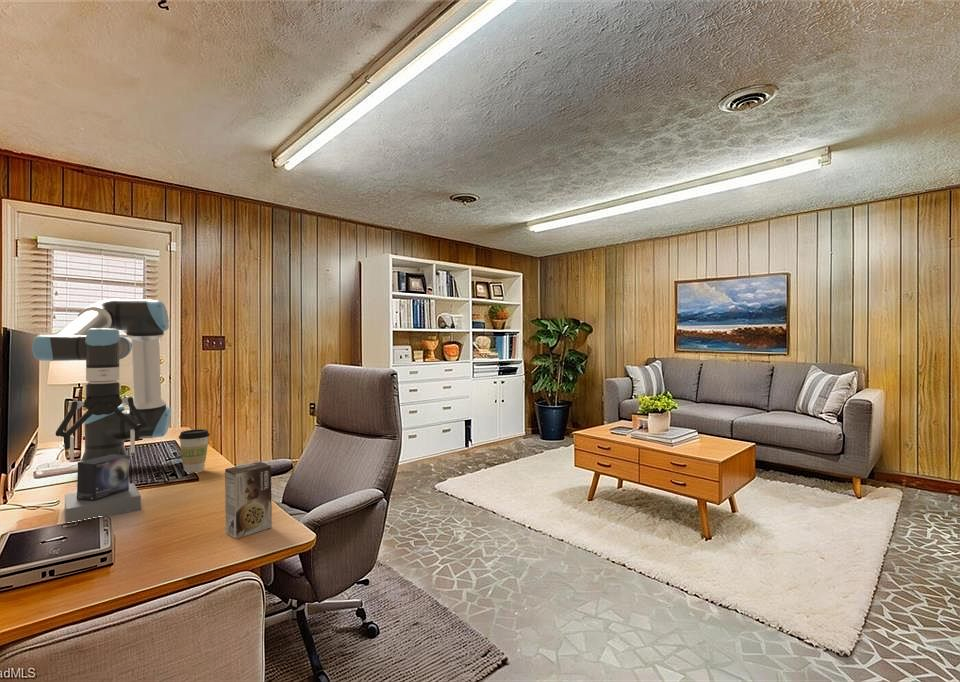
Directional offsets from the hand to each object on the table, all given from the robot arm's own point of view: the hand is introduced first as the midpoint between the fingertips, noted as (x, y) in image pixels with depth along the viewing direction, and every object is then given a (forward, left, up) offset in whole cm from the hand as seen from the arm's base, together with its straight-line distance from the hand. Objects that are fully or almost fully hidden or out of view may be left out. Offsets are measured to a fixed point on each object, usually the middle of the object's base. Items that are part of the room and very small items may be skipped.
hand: (103, 456), depth 134 cm
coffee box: (+45, +26, -15) cm, 54 cm away
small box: (0, 0, -11) cm, 11 cm away
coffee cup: (-27, +28, -15) cm, 41 cm away
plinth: (0, 0, -15) cm, 15 cm away
